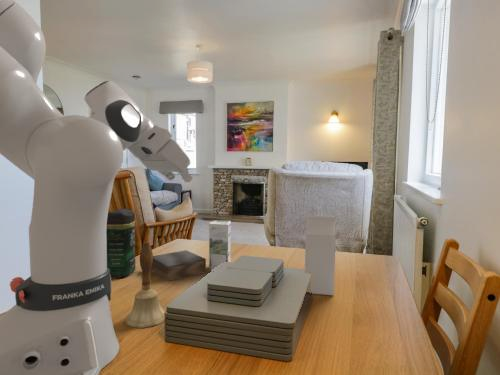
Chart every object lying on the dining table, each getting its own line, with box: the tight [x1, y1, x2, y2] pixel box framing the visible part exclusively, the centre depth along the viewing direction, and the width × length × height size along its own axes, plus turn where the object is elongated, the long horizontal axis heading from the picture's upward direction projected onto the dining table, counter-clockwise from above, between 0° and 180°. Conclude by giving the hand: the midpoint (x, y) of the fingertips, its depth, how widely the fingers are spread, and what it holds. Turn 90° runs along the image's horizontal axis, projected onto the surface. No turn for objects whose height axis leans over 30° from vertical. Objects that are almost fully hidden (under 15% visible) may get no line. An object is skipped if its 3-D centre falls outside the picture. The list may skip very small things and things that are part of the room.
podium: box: [150, 249, 207, 282], centre depth 102 cm, size 12×12×4 cm
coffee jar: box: [106, 208, 137, 279], centre depth 99 cm, size 10×8×19 cm
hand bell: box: [125, 241, 166, 329], centre depth 71 cm, size 8×8×16 cm
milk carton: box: [304, 214, 337, 296], centre depth 88 cm, size 7×7×19 cm
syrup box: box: [208, 220, 232, 272], centre depth 104 cm, size 6×6×14 cm
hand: (180, 179), depth 92 cm, fingers open, 8 cm apart
